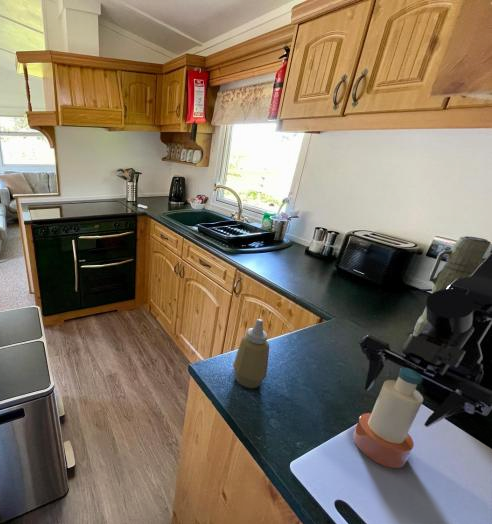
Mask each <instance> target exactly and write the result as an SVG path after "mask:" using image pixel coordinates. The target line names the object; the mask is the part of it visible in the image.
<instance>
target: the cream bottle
mask: <svg viewBox="0 0 492 524" xmlns="http://www.w3.org/2000/svg"><path fill="white" fill-rule="evenodd" d="M397 376H398V377H397V379H396V380H395V379H387V380H385V381H384V382H383V384H382V386H381V389H380V391H379V394H378V396H377V398H376V401H375V403H374V406H373V407H372V411H371V412H370V413H371V416H370V418H369V421H368V425H369V427H370V429H371V430H372V431H373V432H374V433H375V434H376V435H377V436H379V437H380V438H382V439H383V440H385V441H388V442H391V443H395V444H400V443H403V442H404V440H405V438H406V436H407V433H408V434H409V431H410V429H411V427H412V425H413V423H414V421H415V419H416V417H417V415H418V413H419V410H420V408H421V407H422V405H423V402H424V397H423V395H422V394H421V392H420V391H418V390H417V386H418V385H420V384H421V379H422V376H421V375H420V374H419V373H418V372H416V371H414V370H412V369H409V368H404V367H401V368H400V369H399V371H398V373H397Z"/></svg>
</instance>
